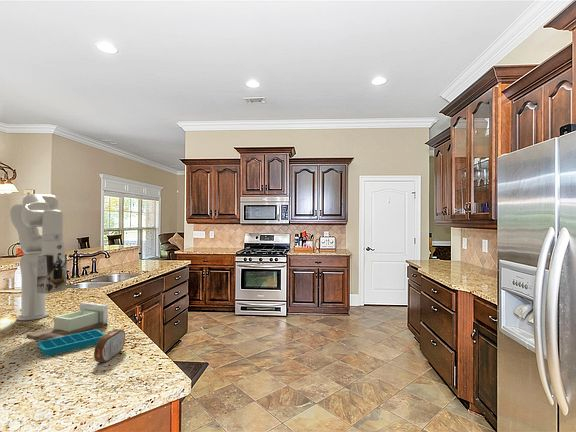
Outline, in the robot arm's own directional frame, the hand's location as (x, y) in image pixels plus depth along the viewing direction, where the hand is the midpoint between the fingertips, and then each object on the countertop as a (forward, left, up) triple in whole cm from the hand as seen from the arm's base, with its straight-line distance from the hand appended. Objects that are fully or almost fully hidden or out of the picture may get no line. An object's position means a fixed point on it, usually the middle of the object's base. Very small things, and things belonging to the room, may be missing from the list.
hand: (52, 278), depth 145 cm
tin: (+52, -12, -22) cm, 58 cm away
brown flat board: (+10, +1, -22) cm, 24 cm away
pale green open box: (+10, +5, -21) cm, 23 cm away
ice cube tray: (+29, -10, -23) cm, 38 cm away
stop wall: (+10, +12, -21) cm, 26 cm away
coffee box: (0, 0, -6) cm, 6 cm away
